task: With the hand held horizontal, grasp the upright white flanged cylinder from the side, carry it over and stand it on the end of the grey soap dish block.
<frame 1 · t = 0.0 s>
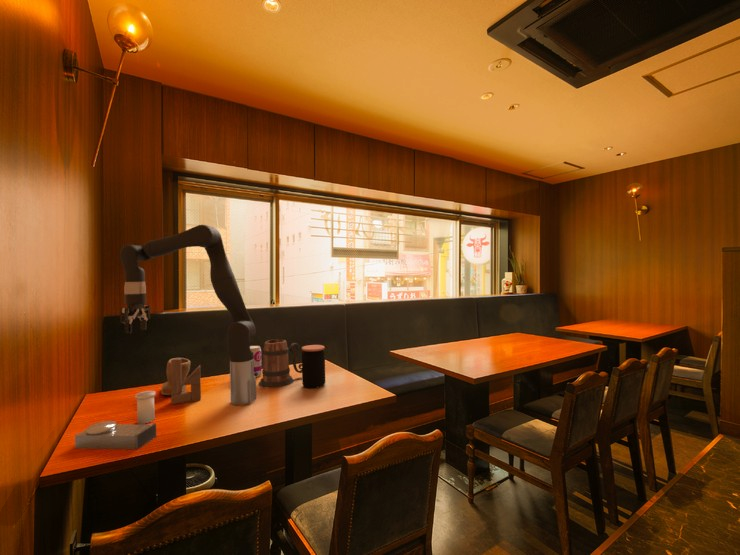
hand: (136, 331, 147), 29 cm above the table, tool pointing down, fingers open, 8 cm apart
stone cup: (176, 392, 159), on the table
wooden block: (186, 401, 146), on the table
coffee jar: (313, 385, 164), on the table
supplement can: (253, 376, 182), on the table
white flanged cylinder: (146, 421, 127), on the table
tankard: (282, 381, 172), on the table
grey soap dish block: (116, 442, 111), on the table
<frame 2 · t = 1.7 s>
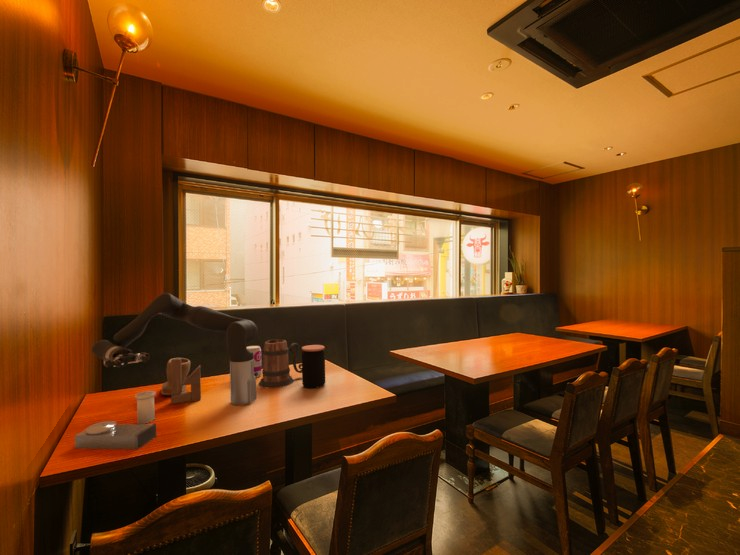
hand: (133, 362, 133), 20 cm above the table, tool horizontal, fingers open, 8 cm apart
nothing on the table moved.
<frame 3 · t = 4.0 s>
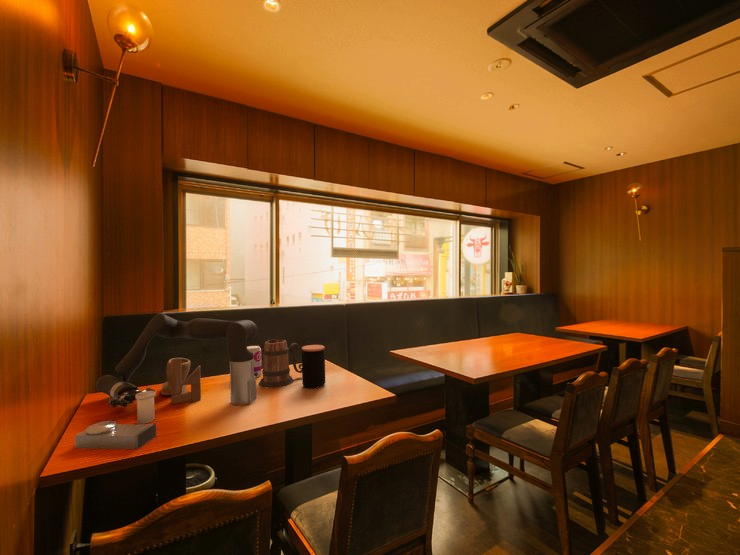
hand: (139, 401, 131), 6 cm above the table, tool horizontal, fingers open, 8 cm apart
nothing on the table moved.
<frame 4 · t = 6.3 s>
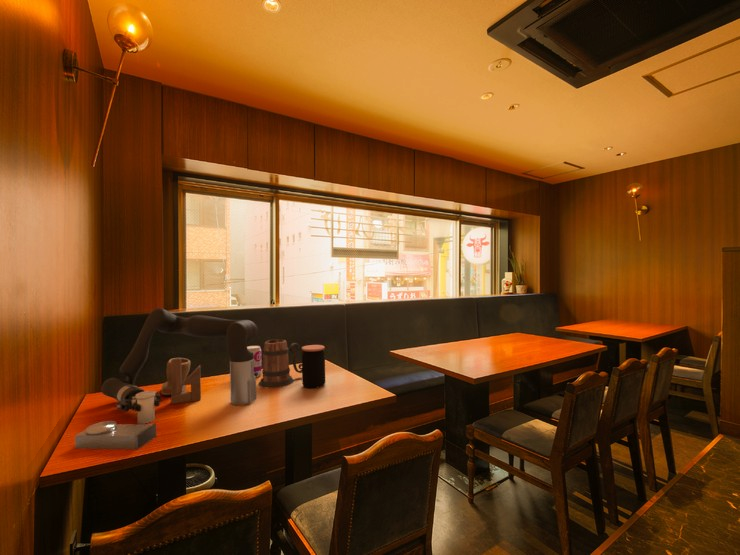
hand: (148, 406, 125), 6 cm above the table, tool horizontal, fingers closed on white flanged cylinder, 5 cm apart
white flanged cylinder: (146, 421, 127), on the table, touching gripper
everything else where it was.
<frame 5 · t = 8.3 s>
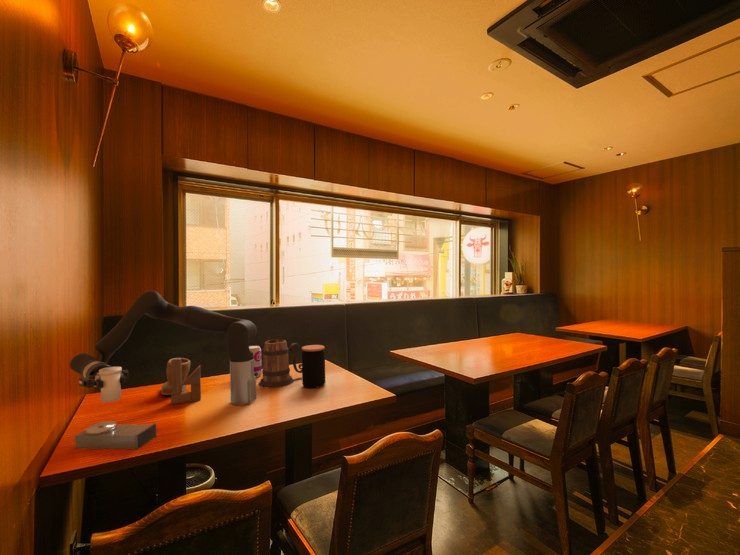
hand: (113, 382, 113), 18 cm above the table, tool horizontal, fingers closed on white flanged cylinder, 5 cm apart
white flanged cylinder: (111, 399, 115), point 12 cm above the table, touching gripper
everything else where it was.
when the fingers open (12 cm above the table, at t = 10.4 s): white flanged cylinder drops 1 cm, resting on grey soap dish block.
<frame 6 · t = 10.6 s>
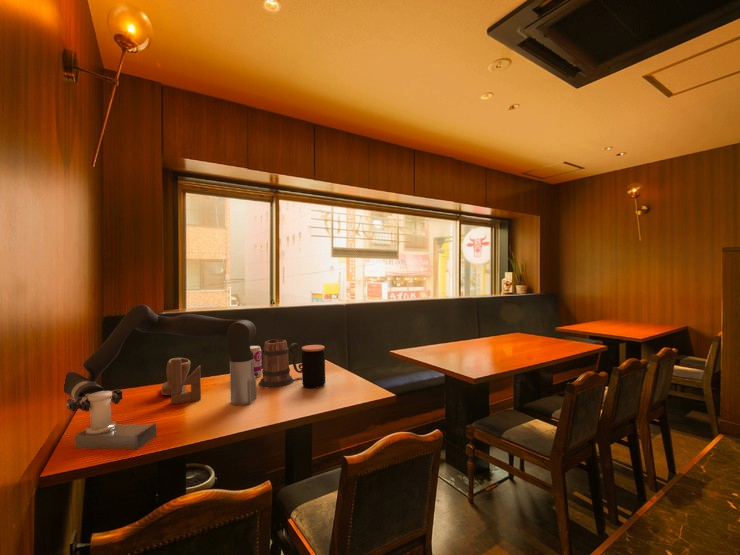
hand: (102, 404, 109), 12 cm above the table, tool horizontal, fingers open, 7 cm apart
white flanged cylinder: (101, 425, 111), point 5 cm above the table, touching grey soap dish block
everything else where it was.
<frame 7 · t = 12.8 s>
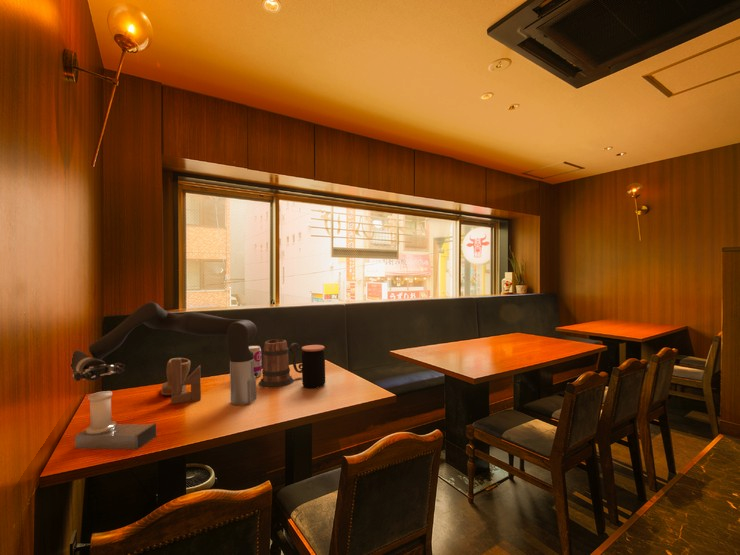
hand: (105, 374, 122), 19 cm above the table, tool horizontal, fingers open, 8 cm apart
nothing on the table moved.
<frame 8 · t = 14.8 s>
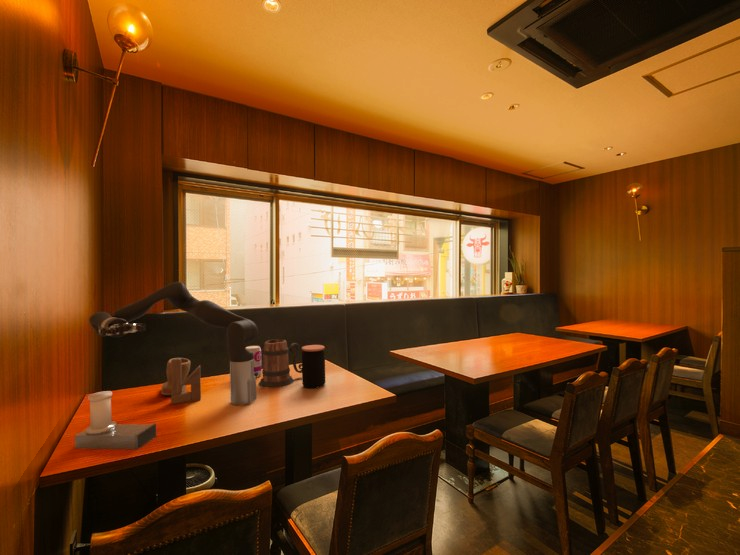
hand: (129, 330, 132), 32 cm above the table, tool horizontal, fingers open, 8 cm apart
nothing on the table moved.
at the end: white flanged cylinder 0.1 cm from the target spot on the grey soap dish block, point 5.2 cm above the grey soap dish block's base; white flanged cylinder tilted 0°; the gripper is holding nothing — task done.
